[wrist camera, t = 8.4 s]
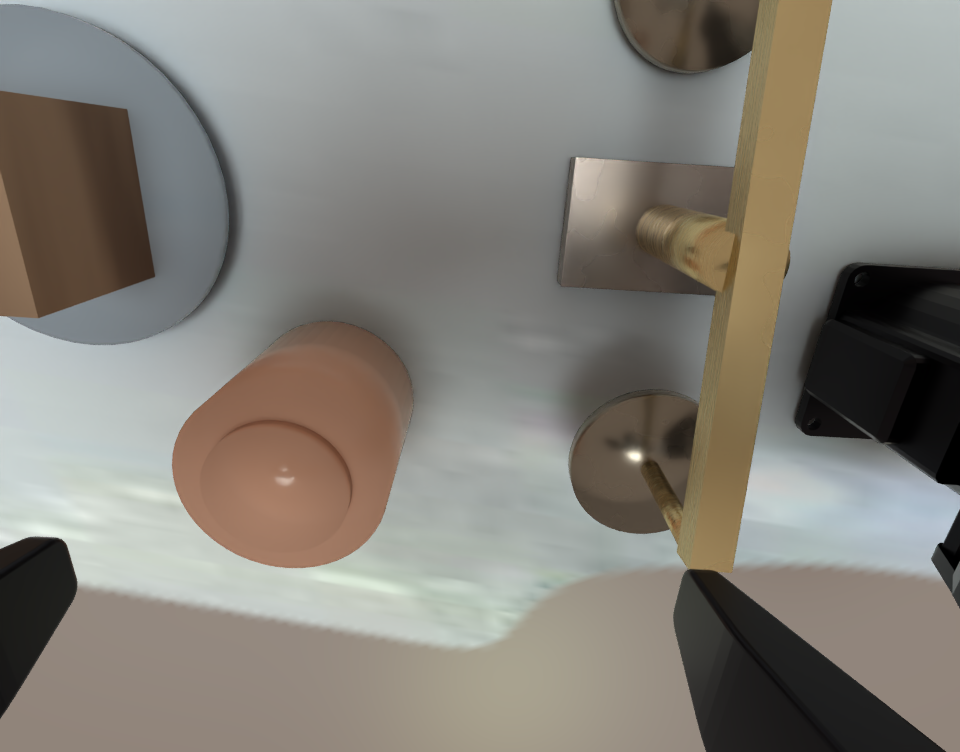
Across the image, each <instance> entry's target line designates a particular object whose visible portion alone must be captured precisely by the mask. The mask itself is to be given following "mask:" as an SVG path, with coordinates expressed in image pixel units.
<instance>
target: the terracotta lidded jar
mask: <svg viewBox="0 0 960 752" xmlns="http://www.w3.org/2000/svg"><path fill="white" fill-rule="evenodd" d="M413 401H414V400H413V389H412V384H411V380H410V378H409V375H408V372H407V370H406V368H405V366H404V364H403V363H402V361H401V360H400V358H399V357H398V355H397V354H396V353H395V352H394V351H393V350H392V349H391V347H389V346H388V345H387V344H386V343H385V342H384V341H383V340H381V339H380V338H378V337H377V336H375V335H374V334H372V333H370V332H368V331H366V330H364V329H362V328H359V327H357V326H354V325H350V324H346V323H342V322H333V321H321V322H313V323H308V324H305V325H301V326H299V327H296V328H294V329H292V330H290V331H288V332H287V333H285V334H283V335H282V336H281V337H280V338H279V339H277V340H276V341H275V342H274V343H273V344H272V345H270V346H269V347H268V348H267V349H266V350H265V351H264V352H262V353H261V354H260V355H259V356H258V357H257V358H255V359H254V360H253V361H252V362H251V363H250V364H249V365H247V366H246V367H245V368H244V369H243V370H242V371H240V372H239V373H238V374H237V375H236V376H235V377H234V378H232V379H231V380H230V381H229V382H228V383H227V384H225V385H224V386H223V387H222V388H221V389H220V390H219V391H217V392H216V393H215V394H214V395H213V396H212V397H211V398H209V399H208V400H207V401H206V402H205V403H204V404H202V405H201V406H200V407H199V408H198V409H197V410H196V411H194V412H193V414H192V415H191V416H190V417H189V418H188V419H187V421H186V422H185V424H184V425H183V427H182V428H181V430H180V432H179V434H178V437H177V439H176V442H175V446H174V451H173V459H172V469H173V478H174V482H175V486H176V490H177V492H178V495H179V497H180V499H181V502H182V503H183V505H184V507H185V509H186V510H187V512H188V513H189V515H190V516H191V517H192V519H193V520H194V521H195V523H196V524H197V525H198V526H199V527H200V528H201V529H202V530H203V531H204V532H205V533H206V534H207V535H208V536H210V537H211V538H212V539H213V540H214V541H216V542H217V543H219V544H220V545H222V546H223V547H225V548H226V549H228V550H230V551H232V552H233V553H235V554H237V555H239V556H242V557H244V558H247V559H249V560H252V561H255V562H258V563H261V564H266V565H270V566H275V567H285V568H306V567H315V566H320V565H324V564H328V563H331V562H334V561H337V560H339V559H341V558H343V557H345V556H347V555H349V554H351V553H352V552H354V551H355V550H357V549H358V548H359V547H361V546H362V545H363V544H364V543H365V542H366V541H367V540H368V539H369V538H370V537H371V536H372V534H373V533H374V532H375V530H376V529H377V527H378V525H379V524H380V522H381V520H382V517H383V515H384V512H385V509H386V505H387V502H388V498H389V494H390V491H391V487H392V484H393V480H394V476H395V473H396V469H397V466H398V462H399V459H400V455H401V451H402V448H403V444H404V441H405V437H406V433H407V430H408V426H409V423H410V419H411V415H412V411H413Z"/></svg>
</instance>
